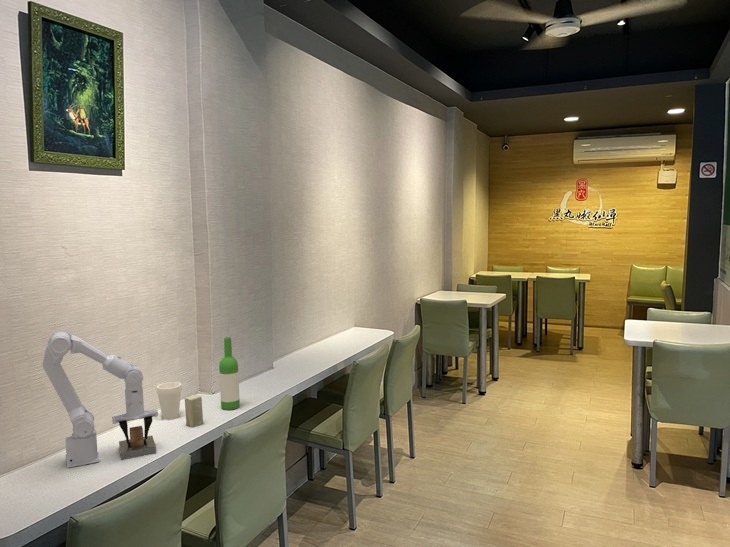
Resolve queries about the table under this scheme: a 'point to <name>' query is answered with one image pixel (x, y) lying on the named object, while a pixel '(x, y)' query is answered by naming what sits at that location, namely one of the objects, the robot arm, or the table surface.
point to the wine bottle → (229, 378)
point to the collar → (137, 448)
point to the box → (193, 410)
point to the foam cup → (169, 399)
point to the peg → (136, 436)
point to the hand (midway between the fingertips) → (136, 439)
